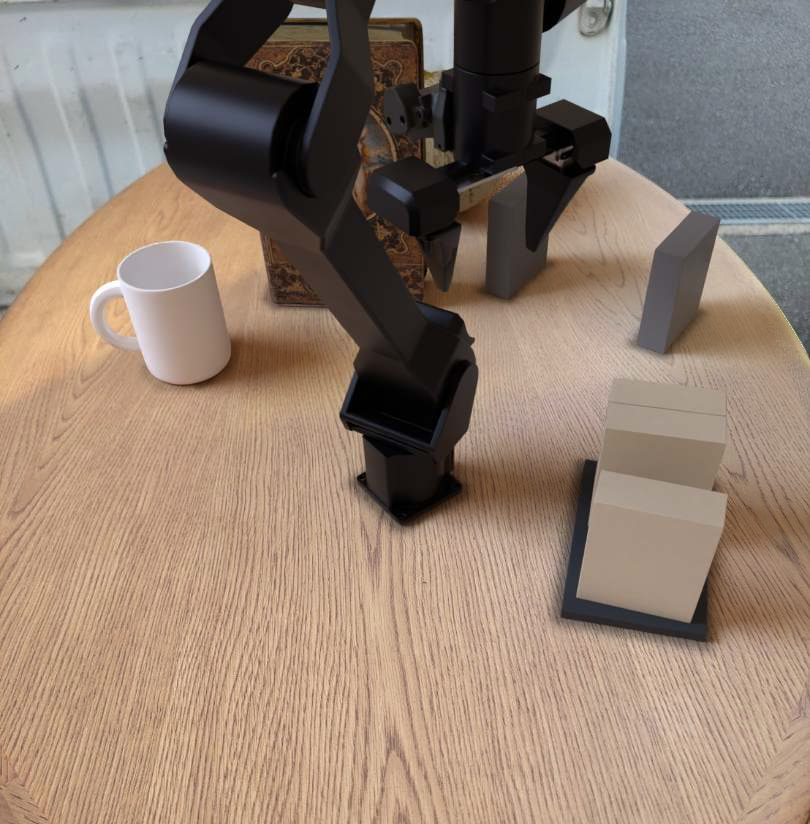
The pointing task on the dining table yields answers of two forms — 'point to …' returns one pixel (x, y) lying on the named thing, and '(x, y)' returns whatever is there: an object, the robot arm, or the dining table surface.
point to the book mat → (653, 459)
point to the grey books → (669, 278)
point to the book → (392, 64)
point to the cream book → (650, 545)
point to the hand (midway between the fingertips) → (488, 269)
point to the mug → (169, 311)
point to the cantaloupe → (441, 159)
